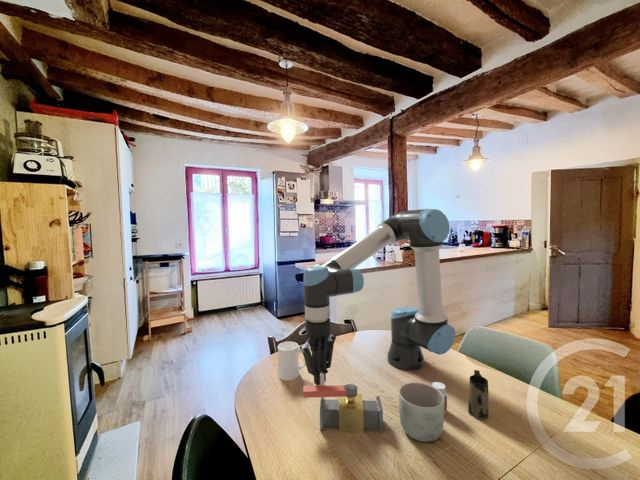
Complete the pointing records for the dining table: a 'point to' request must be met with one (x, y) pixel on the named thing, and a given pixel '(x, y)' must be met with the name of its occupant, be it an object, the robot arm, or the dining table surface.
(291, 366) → the mug
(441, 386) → the pill bottle
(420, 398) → the planter
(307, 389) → the lever
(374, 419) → the valve
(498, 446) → the dining table surface
